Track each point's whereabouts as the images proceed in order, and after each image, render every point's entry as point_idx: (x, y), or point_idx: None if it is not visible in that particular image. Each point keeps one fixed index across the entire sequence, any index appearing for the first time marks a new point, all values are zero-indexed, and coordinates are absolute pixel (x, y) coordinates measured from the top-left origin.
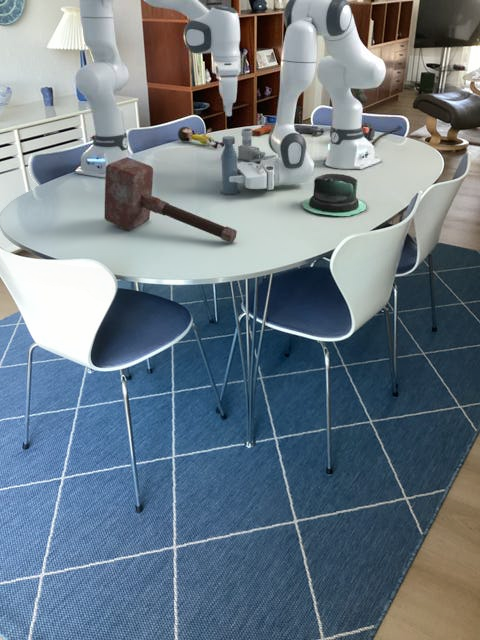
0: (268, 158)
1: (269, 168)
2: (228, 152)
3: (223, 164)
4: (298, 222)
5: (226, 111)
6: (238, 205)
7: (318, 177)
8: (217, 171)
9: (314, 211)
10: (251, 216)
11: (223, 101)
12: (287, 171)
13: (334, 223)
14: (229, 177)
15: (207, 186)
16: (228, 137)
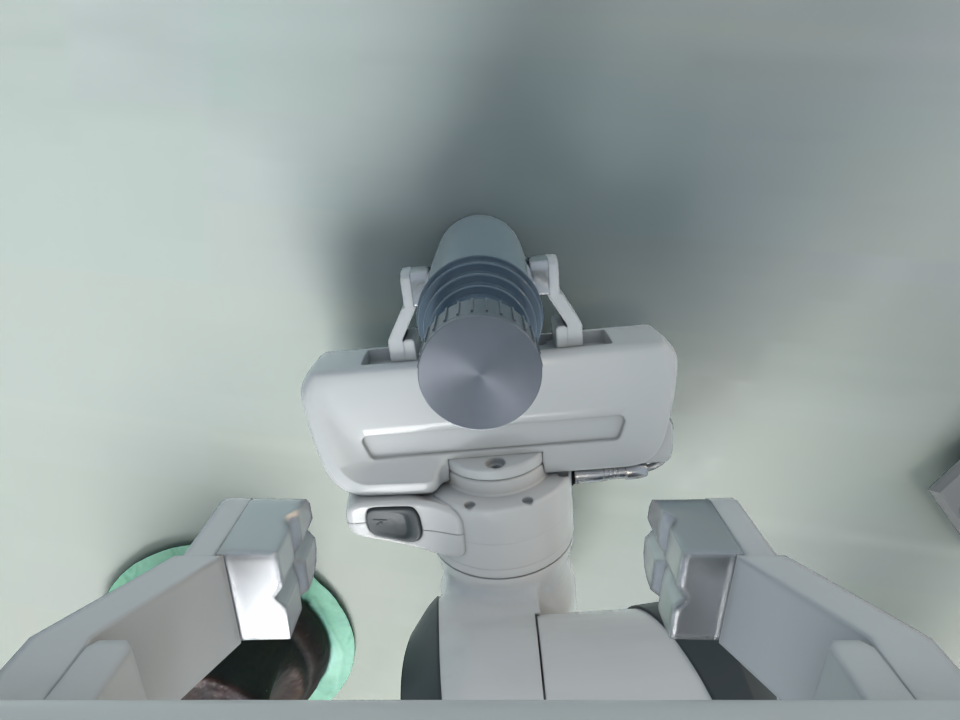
0: (956, 527)
1: (396, 521)
2: (429, 322)
3: (442, 256)
4: (34, 496)
5: (197, 548)
6: (251, 280)
7: (206, 694)
8: (926, 216)
9: (139, 571)
10: (89, 324)
11: (821, 615)
12: (443, 587)
13: (40, 604)
14: (401, 274)
15: (621, 128)
16: (477, 374)
